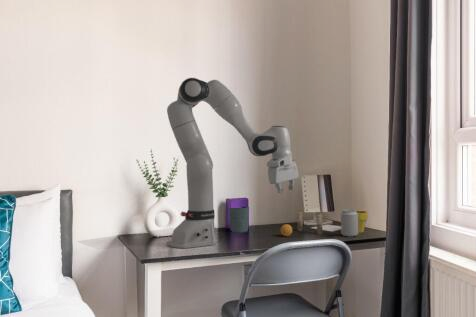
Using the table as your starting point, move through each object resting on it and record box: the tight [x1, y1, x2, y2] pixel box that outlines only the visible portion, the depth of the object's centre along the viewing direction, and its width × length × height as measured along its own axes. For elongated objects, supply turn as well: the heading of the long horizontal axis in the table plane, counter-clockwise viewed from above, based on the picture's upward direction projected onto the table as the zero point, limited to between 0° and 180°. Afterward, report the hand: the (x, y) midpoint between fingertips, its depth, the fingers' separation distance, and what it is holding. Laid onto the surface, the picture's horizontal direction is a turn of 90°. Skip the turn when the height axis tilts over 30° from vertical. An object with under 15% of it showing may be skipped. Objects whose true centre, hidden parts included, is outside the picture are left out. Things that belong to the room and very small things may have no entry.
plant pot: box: [355, 209, 369, 234], centre depth 226 cm, size 10×10×10 cm
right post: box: [316, 213, 323, 235], centre depth 223 cm, size 3×3×9 cm
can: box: [340, 208, 359, 238], centre depth 216 cm, size 8×8×12 cm
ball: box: [280, 224, 293, 237], centre depth 217 cm, size 6×6×6 cm
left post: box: [296, 211, 304, 232], centre depth 232 cm, size 3×3×9 cm
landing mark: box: [310, 224, 341, 232], centre depth 237 cm, size 14×14×1 cm
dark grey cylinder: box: [228, 205, 250, 233], centre depth 234 cm, size 10×10×12 cm
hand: (285, 191), depth 213 cm, fingers open, 8 cm apart
